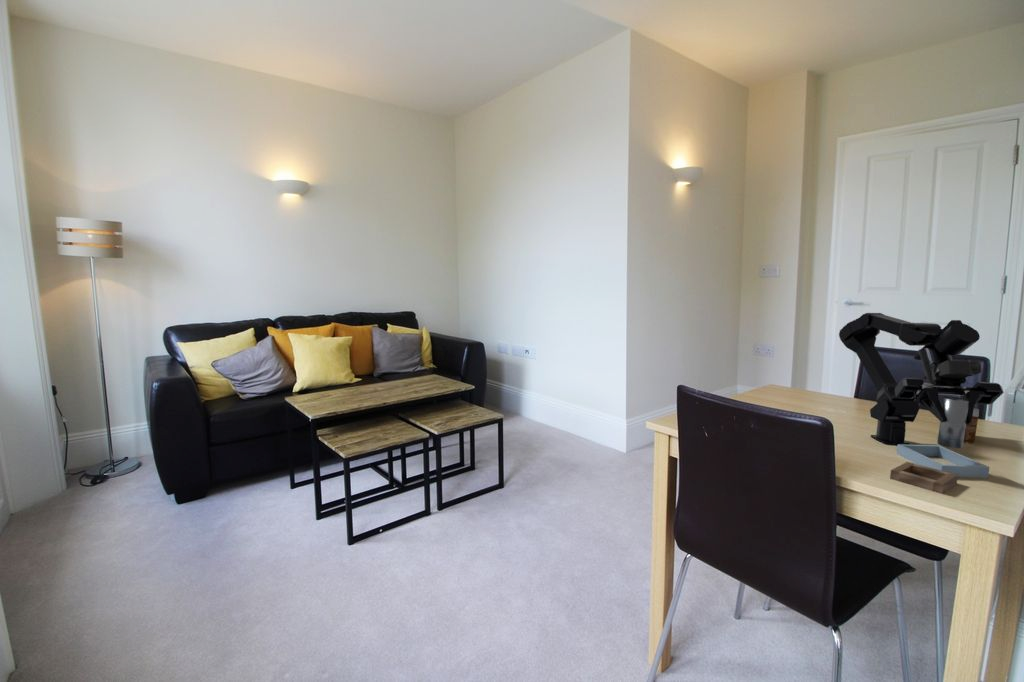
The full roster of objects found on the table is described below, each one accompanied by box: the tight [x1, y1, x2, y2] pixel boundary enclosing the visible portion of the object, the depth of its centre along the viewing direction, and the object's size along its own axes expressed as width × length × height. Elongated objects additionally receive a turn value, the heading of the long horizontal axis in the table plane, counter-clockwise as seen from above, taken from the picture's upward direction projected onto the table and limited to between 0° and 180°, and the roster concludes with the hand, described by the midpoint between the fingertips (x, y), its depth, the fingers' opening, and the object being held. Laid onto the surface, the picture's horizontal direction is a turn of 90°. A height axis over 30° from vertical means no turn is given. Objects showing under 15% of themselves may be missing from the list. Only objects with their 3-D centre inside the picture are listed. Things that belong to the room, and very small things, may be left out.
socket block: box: [889, 461, 959, 495], centre depth 107 cm, size 9×9×3 cm
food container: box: [963, 405, 980, 444], centre depth 138 cm, size 12×6×10 cm, turn 141°
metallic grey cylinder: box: [937, 396, 969, 449], centre depth 111 cm, size 4×4×11 cm
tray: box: [896, 444, 990, 479], centre depth 116 cm, size 14×10×4 cm
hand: (956, 422), depth 110 cm, fingers closed on metallic grey cylinder, 4 cm apart
